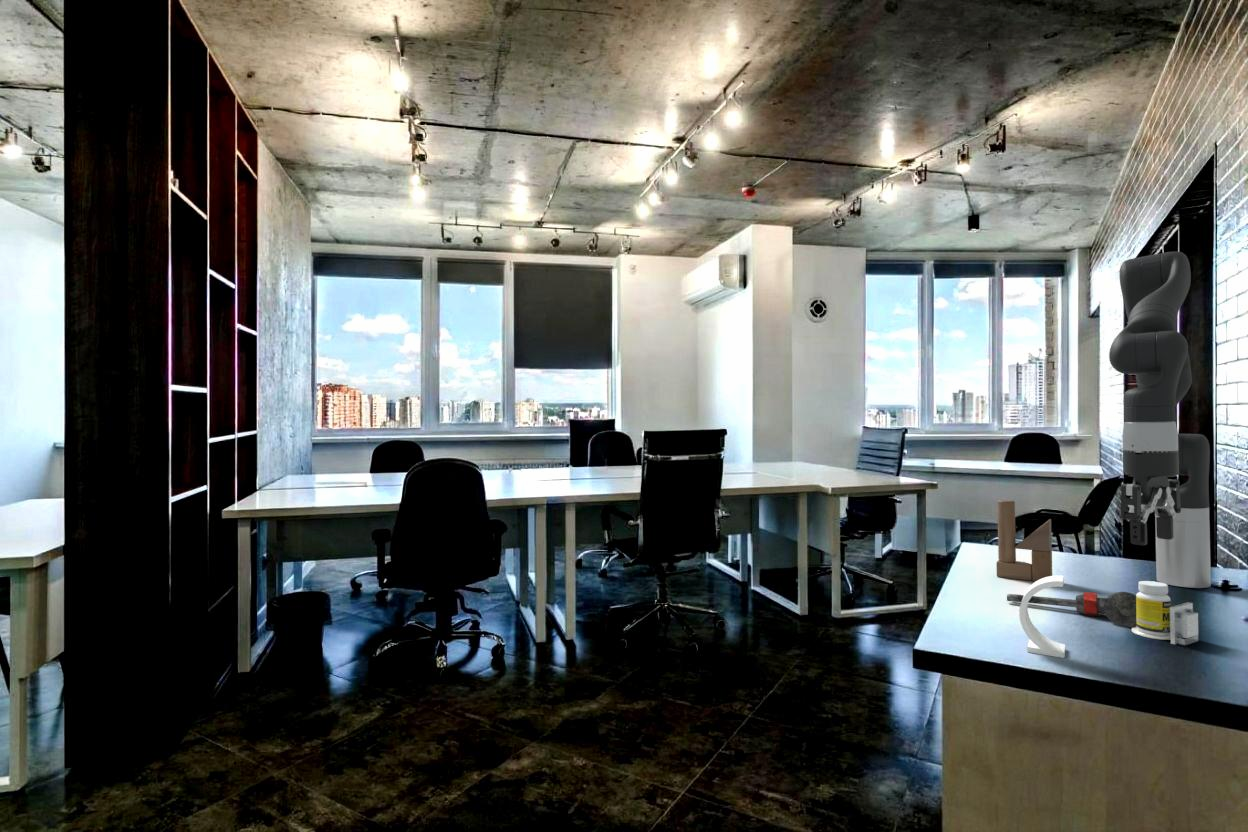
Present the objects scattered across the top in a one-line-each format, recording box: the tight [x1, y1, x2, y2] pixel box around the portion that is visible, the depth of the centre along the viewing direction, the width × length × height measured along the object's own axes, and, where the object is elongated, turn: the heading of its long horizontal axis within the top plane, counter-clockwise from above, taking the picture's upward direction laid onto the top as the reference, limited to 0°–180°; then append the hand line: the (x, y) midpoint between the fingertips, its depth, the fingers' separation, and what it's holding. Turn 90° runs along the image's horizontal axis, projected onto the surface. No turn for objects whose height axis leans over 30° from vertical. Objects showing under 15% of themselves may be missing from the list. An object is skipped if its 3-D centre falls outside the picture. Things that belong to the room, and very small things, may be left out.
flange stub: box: [1170, 601, 1199, 646], centre depth 110 cm, size 6×2×6 cm, turn 117°
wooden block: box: [995, 499, 1053, 583], centre depth 154 cm, size 4×11×18 cm, turn 50°
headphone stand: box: [1018, 575, 1066, 659], centre depth 108 cm, size 5×6×12 cm
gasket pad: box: [1131, 627, 1171, 641], centre depth 114 cm, size 6×6×1 cm
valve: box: [1006, 591, 1137, 628], centre depth 128 cm, size 6×26×15 cm
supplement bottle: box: [1135, 580, 1172, 636], centre depth 114 cm, size 5×5×8 cm
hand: (1152, 541), depth 114 cm, fingers open, 8 cm apart
